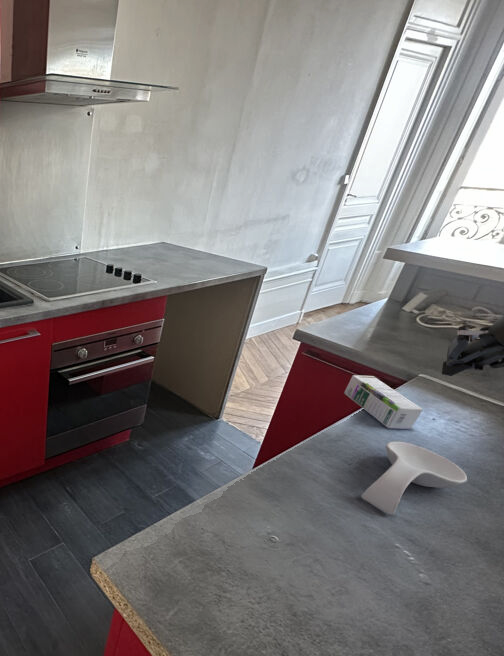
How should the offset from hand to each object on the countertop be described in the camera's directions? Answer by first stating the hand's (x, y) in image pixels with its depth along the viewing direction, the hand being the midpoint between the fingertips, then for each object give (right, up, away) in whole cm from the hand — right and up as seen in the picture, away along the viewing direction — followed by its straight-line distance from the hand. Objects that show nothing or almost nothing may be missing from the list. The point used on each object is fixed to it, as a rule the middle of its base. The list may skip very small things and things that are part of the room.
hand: (447, 369), depth 86 cm
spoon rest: (-17, -22, -8) cm, 29 cm away
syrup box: (-2, -12, +7) cm, 14 cm away
